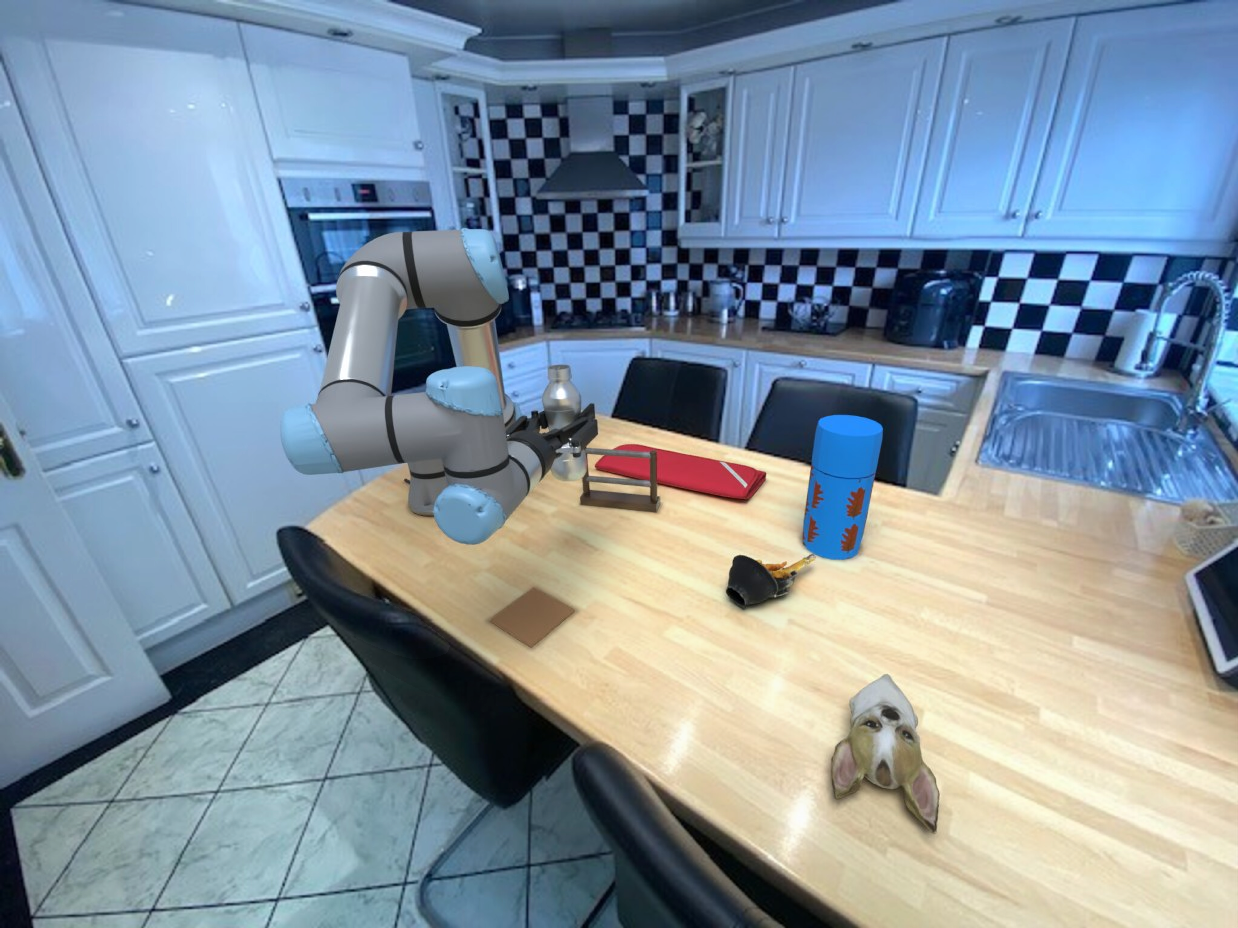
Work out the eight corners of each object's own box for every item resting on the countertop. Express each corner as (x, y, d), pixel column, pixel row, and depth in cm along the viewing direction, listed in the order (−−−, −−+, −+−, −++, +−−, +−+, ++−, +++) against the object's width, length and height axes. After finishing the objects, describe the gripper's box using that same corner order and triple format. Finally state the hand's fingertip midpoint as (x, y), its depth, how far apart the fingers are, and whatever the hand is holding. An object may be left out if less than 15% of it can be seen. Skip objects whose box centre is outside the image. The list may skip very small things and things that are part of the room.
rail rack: (580, 504, 118) (575, 449, 112) (586, 496, 121) (581, 442, 115) (656, 512, 113) (655, 455, 107) (659, 503, 116) (659, 448, 110)
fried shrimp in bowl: (704, 573, 85) (765, 507, 93) (734, 621, 88) (791, 553, 96) (743, 583, 77) (806, 510, 85) (774, 635, 80) (833, 560, 88)
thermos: (861, 535, 102) (884, 418, 91) (859, 565, 93) (884, 440, 82) (804, 524, 106) (819, 412, 95) (797, 552, 97) (813, 431, 87)
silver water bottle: (583, 487, 87) (573, 372, 78) (545, 485, 88) (532, 372, 79) (592, 470, 92) (584, 362, 84) (557, 469, 94) (545, 362, 85)
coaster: (489, 621, 84) (489, 619, 84) (533, 589, 91) (533, 587, 91) (531, 647, 78) (530, 645, 78) (574, 611, 85) (574, 609, 85)
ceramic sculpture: (940, 676, 59) (957, 803, 48) (924, 723, 64) (936, 851, 52) (842, 652, 64) (835, 763, 52) (833, 697, 68) (825, 810, 56)
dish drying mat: (625, 449, 145) (624, 437, 144) (766, 479, 125) (768, 465, 123) (594, 471, 133) (593, 458, 132) (745, 507, 113) (746, 493, 112)
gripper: (461, 483, 74) (527, 426, 94) (585, 494, 69) (627, 432, 89) (452, 435, 71) (522, 387, 91) (581, 444, 66) (625, 391, 86)
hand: (574, 409), depth 90 cm, fingers closed on silver water bottle, 6 cm apart
